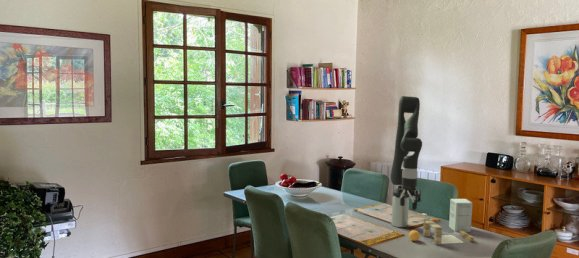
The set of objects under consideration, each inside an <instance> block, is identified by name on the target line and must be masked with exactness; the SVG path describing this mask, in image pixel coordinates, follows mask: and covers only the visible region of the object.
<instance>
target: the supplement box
mask: <svg viewBox="0 0 579 258" xmlns="http://www.w3.org/2000/svg"><path fill="white" fill-rule="evenodd" d="M449 201H450V203H449V218H448V219H449V222H448V227H449V229H451V230H453V232H457V233H459V232H460V231H464V232H466V233H467V232H468V233H470V232H471V230H472V216H473V215H472V214H473V202H472V201H470V200H469V199H467V198H450V200H449Z"/></svg>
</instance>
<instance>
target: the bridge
mask: <svg viewBox="0 0 579 258" xmlns="http://www.w3.org/2000/svg"><path fill="white" fill-rule="evenodd" d="M422 226H423V230H422V236H423V237H424V238H427V237H428V238H429V237H431V227H432V228H433V229H434V235H433V236H434V237H433V245H435V246H441V245H442V243H441V239H442V235H443V227H442V226H441V225H439V224H438V223H436V222H434V221H433V220H431V219H430V218H424V219H423V225H422Z"/></svg>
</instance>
